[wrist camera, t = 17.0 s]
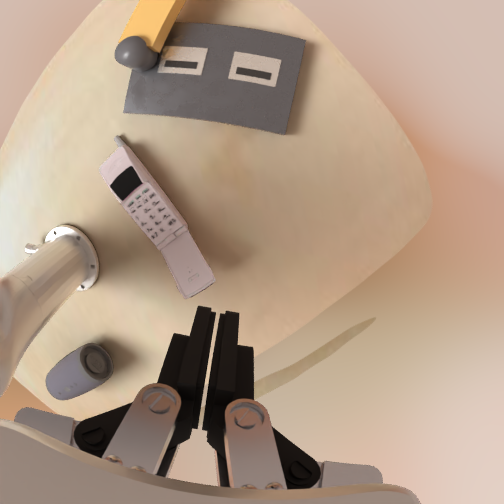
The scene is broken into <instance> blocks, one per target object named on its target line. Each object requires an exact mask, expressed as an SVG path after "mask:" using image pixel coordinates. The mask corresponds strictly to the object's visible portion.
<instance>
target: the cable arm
mask: <svg viewBox="0 0 504 504" xmlns="http://www.w3.org/2000/svg"><path fill="white" fill-rule="evenodd" d="M185 2H186V0H140V1H139V3H138V5H137V6H136V8H135V10H134V12H133V14H132V16H131V18H130V19H129V21H128V23H127V25H126V27H125V30H124V32H123V34H122V36H121V38H120V40H119V42H118V43H119V44H118V46H117V48H116V50H115V59H116V61H117V62H118V63H120V64H122V65H124V66H126V67H129V68H131V69H133V70H135V71H137V72H144V71H147V70H149V69H151V68H152V67H153V66H154V65H155V63H156V61H157V58H158V53H157V52H159V53H160V51H161V49H162V47H163V44H164V42H165V40H166V38H167V36H168V34H169V32H170V30H171V28H172V26H173V24H174V22H175V20H176V18H177V16H178V14H179V12H180V11H181V9H182V7H183V5H184V3H185Z"/></svg>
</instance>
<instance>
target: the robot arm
mask: <svg viewBox="0 0 504 504" xmlns="http://www.w3.org/2000/svg"><path fill="white" fill-rule="evenodd" d="M25 252H26V253H27V254H30V256H29V257H27V258H26V259H25V260H23V261H22V262H21V263H19V264H18V265H17V266H16V267H14V268H13V269H12V270H10V271H9V272H8V273H7V274H5V275H4V276H3V277H1V278H0V397H1V396H2V395H3V394H4V393H5V391H6V390H7V388H8V386H9V384H10V382H11V380H12V378H13V375H14V373H15V370H16V368H17V366H18V364H19V362H20V360H21V358H22V356H23V354H24V352H25V351H26V349H27V348H28V346H29V345H30V344H31V342H32V341H33V340H34V338H35V337H36V336H37V334H38V333H39V332H40V331H41V329H42V328H43V327H44V326H45V325H46V323H47V322H48V321H49V320H50V319H51V318H52V316H53V315H54V314H55V313H56V312H57V311H58V309H59V308H60V307H61V306H62V305H63V304H64V303H65V301H66V300H67V299H68V298H69V297H70V296H71V295H72V294H73V293H74V292H75V291H83V290H87V289H88V288H90V287H91V286H92V285H93V284H94V282H95V281H96V279H97V277H98V273H99V262H98V257H97V254H96V251H95V249H94V247H93V245H92V243H91V242H90V240H89V239H88V238H87V237H86V235H85V234H84V233H82V232H81V231H80V230H79V229H77V228H75V227H73V226H70V225H60V226H57V227H55V228H54V229H52V230H51V231H50V232H49V233H48V235H47V237H46V239H45V243H44V244H43V245H38V246H36V245H33V244H29V243H28V244H27V245H26V246H25ZM215 316H216V312H211V308H208V307H203V306H198V308H197V311H196V315H195V319H194V322H193V326H192V329H191V333H190V336H186V335H181V334H176V333H174V334H173V337H172V339H171V342H170V345H169V348H168V351H167V354H166V357H165V360H164V363H163V366H162V369H161V372H160V376H159V379H158V382H157V383H153V384H149V385H147V386H145V387H143V388H142V389H141V390H140V391H139V393H138V394H137V396H136V398H135V399H134V401H133V402H132V403H129V404H127V405H124V406H122V407H119V408H116V409H114V410H111V411H108V412H105V413H103V414H100V415H97V416H94V417H91V418H88V419H85V420H83V421H76V420H74V418H71V417H67V416H62V415H58V414H53V413H49V412H45V411H42V410H38V409H34V408H29V407H26V408H22V409H21V410H19V411H18V412H17V414H16V416H15V419H14V421H10V420H5V419H0V504H421V503H420V501H419V499H418V498H417V496H416V495H415V494H414V493H413V492H412V491H410V490H408V489H406V488H403V487H400V486H396V485H391V484H383V480H382V474H381V472H380V471H379V470H378V469H377V468H375V467H374V466H370V465H357V464H346V463H337V462H330V461H324V462H323V463H322V462H316V461H315V460H314V459H313V458H312V457H310V456H309V455H308V454H306V453H305V452H304V451H302V450H301V449H300V448H298V447H297V446H296V445H295V444H293V443H292V442H291V441H289V440H288V439H287V438H285V437H284V436H283V435H282V434H281V433H279V432H278V431H277V430H276V429H275V428H273V427H272V425H271V421H270V417H269V414H268V412H267V409H266V408H265V407H264V406H263V405H262V404H260V403H259V402H257V401H254V350H253V347H248V346H242V345H237V344H238V328H239V313H236V312H230V311H226V313H225V314H221V313H220V318H219V323H218V329H217V335H216V340H215V346H214V352H213V358H212V364H211V371H210V377H209V384H208V391H207V398H206V405H205V412H204V419H203V427H202V430H205V431H207V442H208V443H209V444H210V445H211V446H212V447H213V448H214V449H215V462H216V471H217V481H218V486H211V485H203V484H197V483H191V482H185V481H180V480H175V479H170V478H168V475H169V473H170V470H171V468H172V465H173V462H174V460H175V457H176V455H177V452H178V449H179V447H180V443H182V442H184V441H186V440H188V439H189V438H190V435H191V432H192V428H194V429H198V423H199V416H200V409H201V403H202V396H203V390H204V384H205V378H206V371H207V365H208V359H209V353H210V347H211V340H212V334H213V328H214V322H215Z"/></svg>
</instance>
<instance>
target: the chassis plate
mask: <svg viewBox="0 0 504 504" xmlns="http://www.w3.org/2000/svg"><path fill="white" fill-rule="evenodd" d="M305 42H306V40H303V39H299V38H295V37H291V36H287V35H282V34H277V33H272V32H267V31H262V30H256V29H250V28H243V27H235V26H227V25H217V24H204V23H174V24H173V26H172V28H171V30H170V32H169V34H168V36H167V38H166V40H165V42H164V44H163V47H162V49H161V51H160V53H159V52H157V53H158V58H157V61H156V63H155V65H154V66H153V67H152V68H151V69H149V70H147V71H144V72H137V71H135V70H133V69H132V73H131V77H130V81H129V86H128V90H127V95H126V100H125V106H124V111H123V113H128V114H145V115H159V116H170V117H180V118H189V119H197V120H204V121H211V122H218V123H224V124H230V125H236V126H242V127H247V128H252V129H257V130H262V131H267V132H272V133H276V134H280V135H285V132H286V128H287V123H288V119H289V114H290V110H291V105H292V101H293V96H294V92H295V87H296V83H297V78H298V74H299V69H300V65H301V60H302V56H303V51H304V47H305Z"/></svg>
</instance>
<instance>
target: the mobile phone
mask: <svg viewBox="0 0 504 504" xmlns="http://www.w3.org/2000/svg"><path fill="white" fill-rule="evenodd" d="M114 140H115V142H116V143H117V145H118V147H119V148H118V149H117V150H116V151H115V152H114V153H113V154H112V155H111V156H110V157H109V158H108V159H107V160H106V161H105V162H104V163H103V164H102V165H101V166H100V167H99V172H100V174H101V176H102V178H103V179H104V181H105V182H106V184H107V185H108V187H109V188H110V190H111V191H112V193H113V194H114V196H115V197H116V198H117V200H118V201H119V203H120V204H121V205H122V206H123V207H124V209H125V210H126V211H127V212H128V214H129V215H130V216H131V217H132V219H133V220H134V221H135V222H136V223H137V225H138V226H139V227H140V228H141V229H142V231H143V232H144V233H145V234H146V235H147V236H148V238H149V239H150V240H151V241H152V242H153V243H154V245H155V246H156V247H157V249H158V250H160V251H161V253H162V255H163V257H164V259H165V261H166V263H167V265H168V268H169V270H170V272H171V274H172V276H173V278H174V280H175V282H176V284H177V288H178V290H179V292H180V293H181V294H182V295H183V297H184V298H185V299H187V298H190V297H192V296H194V295H196V294H198V293H199V292H201V291H203V290H205V289H206V288H207V287H209V286H210V285H212V284H213V283H214V282H215V281H216V280H215V278H214V276H213V272H212V270H211V268H210V266H209V265H208V264H207V262H206V261H205V259H204V257H203V255H202V254H201V252H200V250H199V248H198V247H197V245H196V243H195V241H194V240H193V238H192V236H191V234H190V232H189V231H188V224H187V223H186V221H185V220H184V218H183V217H182V216H181V214H180V213H179V212H178V210H177V209H176V208H175V206H174V205H173V204H172V202H171V201H170V199H169V198H168V197H167V195H166V194H165V193H164V191H163V190H162V189H161V187H160V186H159V185H158V184H157V182H156V181H155V180H154V178H153V177H152V176H151V174H150V173H149V172H148V170H147V169H146V168H145V166H144V165H143V164H142V162H141V161H140V160H139V159H138V157H137V156H136V155H135V154H134V152H133V151H132V150H131V149H130V147H128V146H127V145H126V144H125V143H124V141H123V140H122V139H121V138H120V137H119V136H118V135H117V136H116V137H115V138H114Z"/></svg>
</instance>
